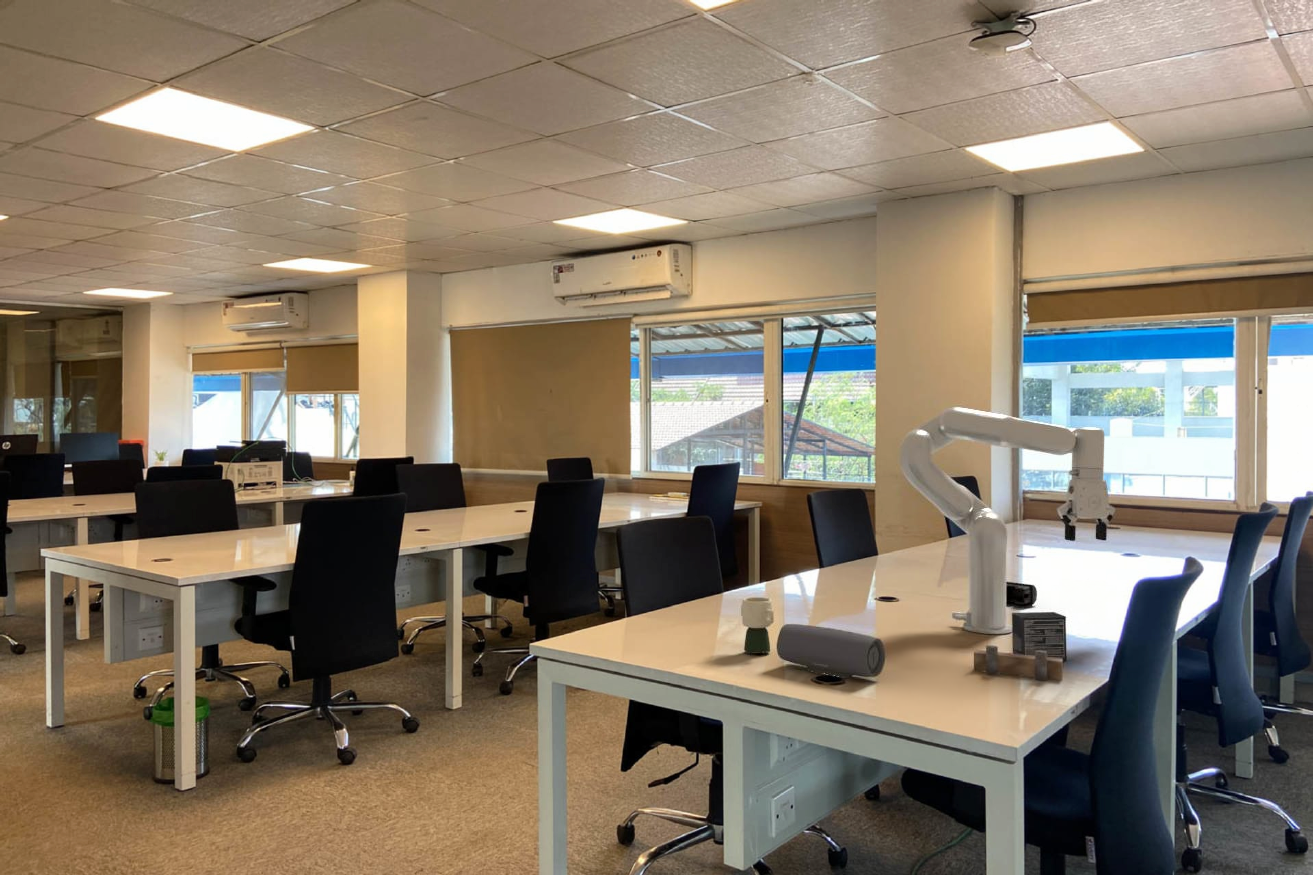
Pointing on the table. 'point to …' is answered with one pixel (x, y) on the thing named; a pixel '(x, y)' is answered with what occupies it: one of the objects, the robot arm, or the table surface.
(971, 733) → the table surface
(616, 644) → the table surface
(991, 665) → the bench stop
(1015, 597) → the end cap
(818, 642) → the bluetooth speaker
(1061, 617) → the small box
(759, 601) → the character mug
